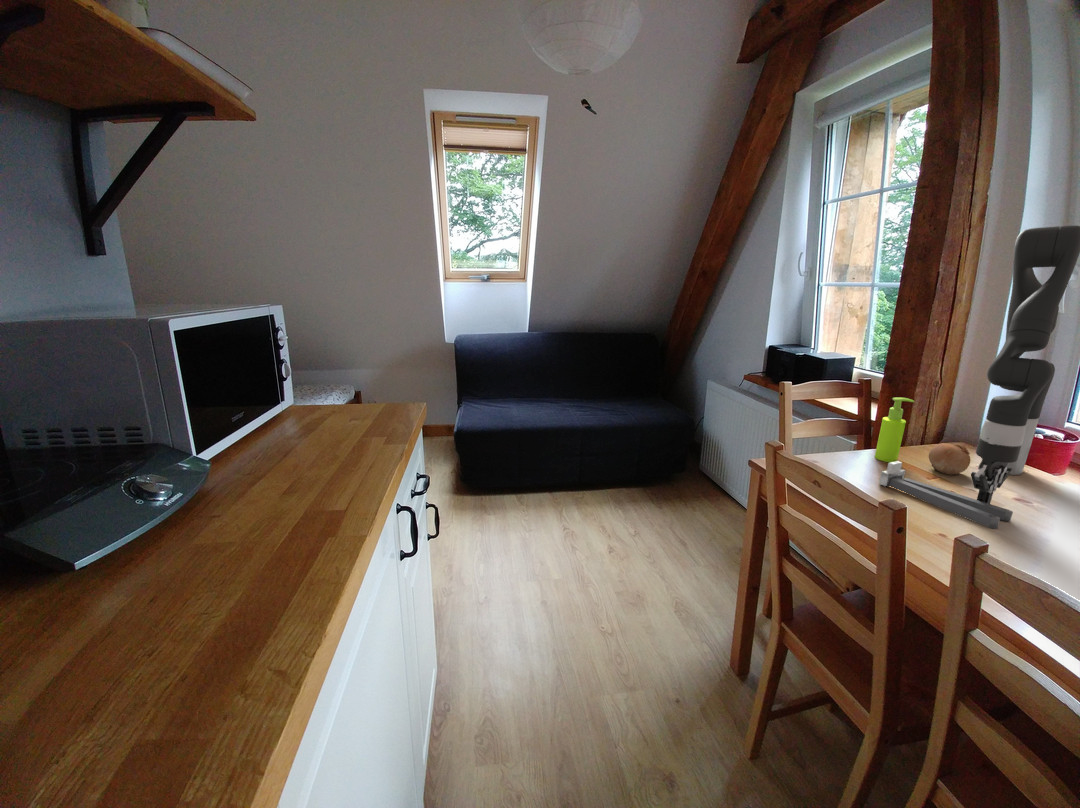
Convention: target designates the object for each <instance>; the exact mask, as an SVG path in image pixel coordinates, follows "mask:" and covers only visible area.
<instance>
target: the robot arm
mask: <svg viewBox="0 0 1080 808" xmlns="http://www.w3.org/2000/svg"><path fill="white" fill-rule="evenodd" d="M1079 257H1080V225H1077V224H1075V225H1074V224H1073V225H1056V226H1044V227H1033V228H1027V229H1026V228H1025V229H1024V230H1022V231H1021V232H1020V233H1019V234H1018V236H1017V237H1016V239H1015V244H1014V247H1013V259H1012V260H1013V261H1012V287H1011V288H1012V289H1011V296H1010V301H1009V305H1008V312H1007V319H1006V329H1005V330H1006V332H1005V341H1004V344H1003V346H1002V347H1001V350H1000V351H999V353H998V354H997V356H996V357H995V358H994V360H993V361H992V362H991V364H990V366H989V368H988V369H987V374H986V375H987V376H986V377H987V380H988V382H989V383H990V384H992V385H994V386H996V387H999V388H1000V389H1004V390H1007V391H1012V392H1020V393H1018V394H1014V395H1013V394H1012V395H997V396H993V398H991V400H990V403H989V406H988V409H987V414H986V417H985V421H984V422H983V425H982V427H981V431H980V435H979V438H978V442H977V445H976V448H975V454H976V455H977V456H979V457H980V458H981V461H980V463H979V465H978V471H977V472H975V471H972V472H971V473H970V477H971V480H972V484H973V485H972V486H973V487H974V489H977V490H978V493H977V497H976V500H979V501H982V502H985V503H988V504H991V502H992V498H993V495H994V492H997V489H1000V488H1001V486H1002V485H1003V484H1004V482H1005V481H1006V479H1007V478H1008V476H1009V475H1011V476H1012V475H1013V476H1020V475H1022V474H1023V472H1024V468H1025V465H1026V462H1027V459H1028V456H1029V452H1030V449H1031V446H1032V443H1033V439H1034V437H1035V433H1036V430H1037V426H1038V422H1039V419H1040V417H1041V413H1042V409H1043V406H1044V404H1045V400H1046V398H1047V395H1048V393H1049V391H1050V390H1049V389H1050V387H1051V385H1052V382H1053V379H1054V375H1055V371H1056V370H1055V369H1056V368H1055V365H1054V364H1053V363H1052V362H1049V361H1048V360H1045V359H1039V358H1028V357H1027V358H1026V357H1022V355H1023V354H1024V353H1029V352H1037V351H1041V350H1044V349H1045V348H1046V347H1048V343H1049V341H1050V338H1051V334H1052V332H1054V330H1055V328H1056V325H1057V320H1058V315H1059V311H1060V310H1059V309H1060V307H1059V305H1060V304H1061V303H1060V302H1061V300H1062V298H1063V297H1064V294H1065V292H1066V289H1067V287H1068V285H1069V282H1070V279H1071V278H1072V275H1073V272H1074V270H1075V268H1076V265H1077V262H1078V259H1079ZM1033 268H1054V270H1053V272H1052V274H1051V275H1050V276H1049V278H1048V279H1047V280H1046V281H1045V282H1044V283H1043V284H1042V283H1041V282H1040V281H1039V280H1038V278H1037V276H1036V274H1035V272H1034V269H1033Z"/></svg>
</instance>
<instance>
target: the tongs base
mask: <svg viewBox="0 0 1080 808" xmlns="http://www.w3.org/2000/svg"><path fill="white" fill-rule="evenodd" d="M888 486H891V487H894V488H896V489H899V490H901V491H904V492H906V493H908V494H911V495H913V496H915V497H917V498H919V499H918V500H920V499H922V500H924V501H923V502H925V501H926V503H927V502H928V504H930V503H931V504H930V505H932V504H933V505H932V506H935V505H936V506H935V507H937V506H938V508H939V509H942V508H943V510H945V511H948V512H950V513H952V512H953V513H952V514H955V513H956V514H955V515H957V514H958V515H957V516H960V515H961V516H960V517H962V516H963V517H962V518H964V517H966V518H965V519H967V518H968V519H967V520H969V519H971V520H970V521H972V520H973V521H972V522H974V521H975V523H977V524H980V525H982V526H985V527H988V528H989V529H992V530H993V529H994V530H996V529H998V527H999V524H1000V521H1001V519H1000V518H999V517H997V516H995V515H992V514H990V513H987V512H984V511H982V510H979V509H976V508H974V507H971V506H969V505H966V504H963V503H961V502H958V501H956V500H953V499H950V498H948V497H945V496H942V495H940V494H937V493H935V492H932V491H929V490H927V489H924V488H921V487H919V486H916V485H914V484H911V483H908V482H906V481H903V480H901V476H896V477H892V478H890V480H889V484H888ZM888 486H887V487H888ZM915 497H914V498H915ZM917 498H916V499H917ZM922 500H921V501H922Z"/></svg>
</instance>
